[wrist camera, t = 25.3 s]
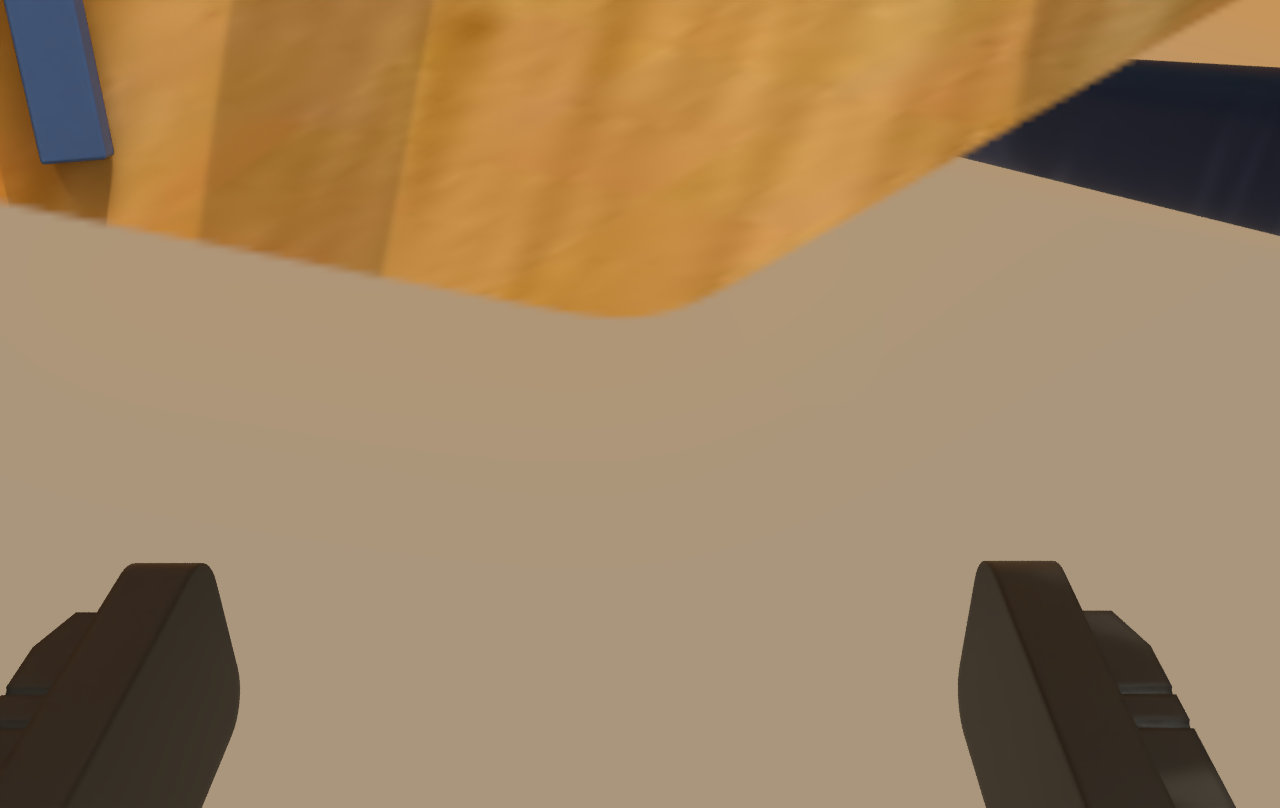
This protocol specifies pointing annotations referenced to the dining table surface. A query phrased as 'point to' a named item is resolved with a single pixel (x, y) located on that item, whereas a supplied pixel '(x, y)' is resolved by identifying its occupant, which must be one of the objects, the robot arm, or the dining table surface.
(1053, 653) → the robot arm
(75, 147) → the blue paddle stick
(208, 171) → the dining table surface
